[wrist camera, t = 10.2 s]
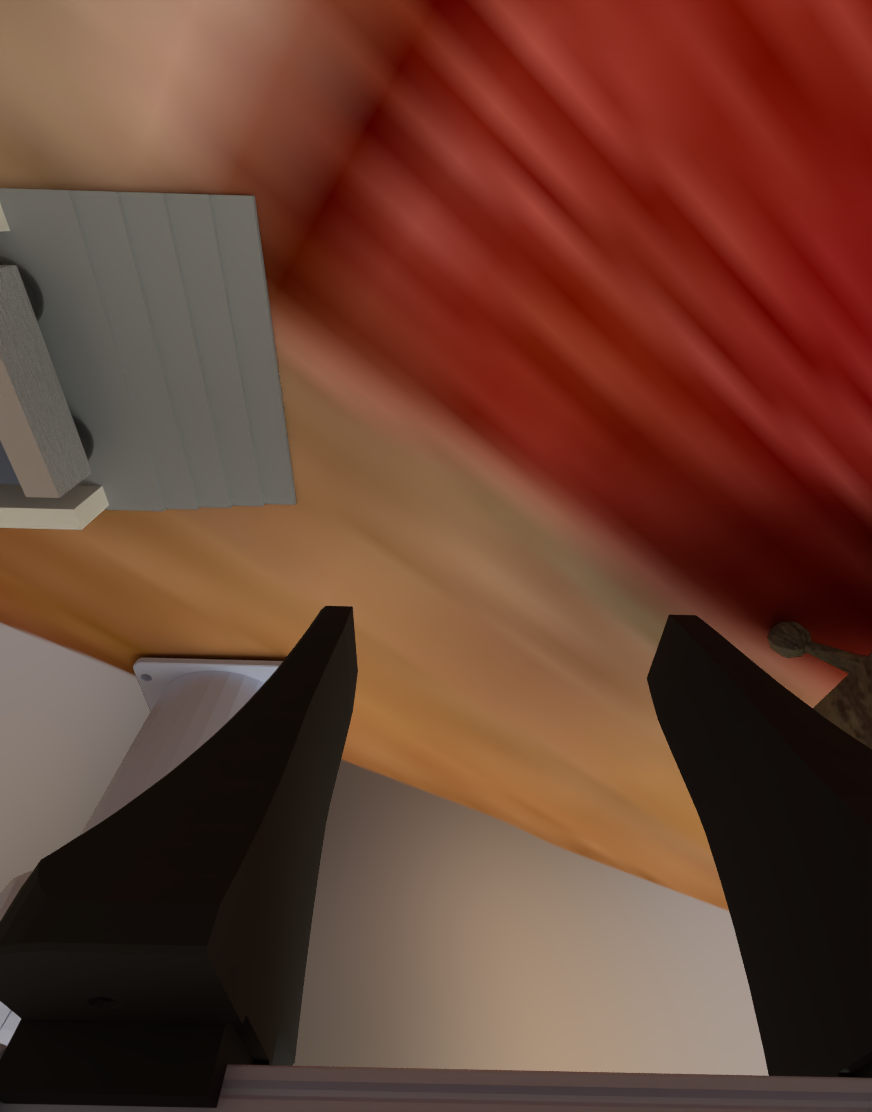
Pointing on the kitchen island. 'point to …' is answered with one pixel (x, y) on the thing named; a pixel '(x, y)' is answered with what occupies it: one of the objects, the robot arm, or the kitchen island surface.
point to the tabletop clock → (856, 702)
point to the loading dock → (154, 349)
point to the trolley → (34, 398)
